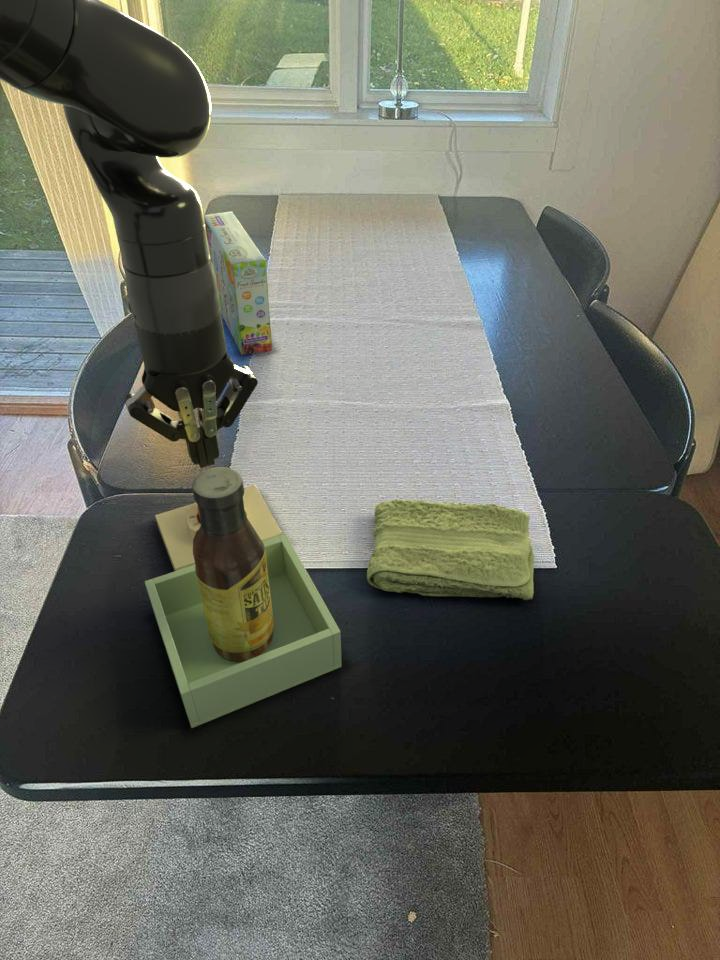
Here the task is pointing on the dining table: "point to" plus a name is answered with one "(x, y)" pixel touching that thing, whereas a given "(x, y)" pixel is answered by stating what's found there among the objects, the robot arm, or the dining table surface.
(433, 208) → the dining table surface
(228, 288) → the snack box
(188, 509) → the panel
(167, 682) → the dining table surface
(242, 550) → the sauce bottle
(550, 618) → the dining table surface
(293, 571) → the sage green tray
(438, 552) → the washcloth
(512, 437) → the dining table surface
